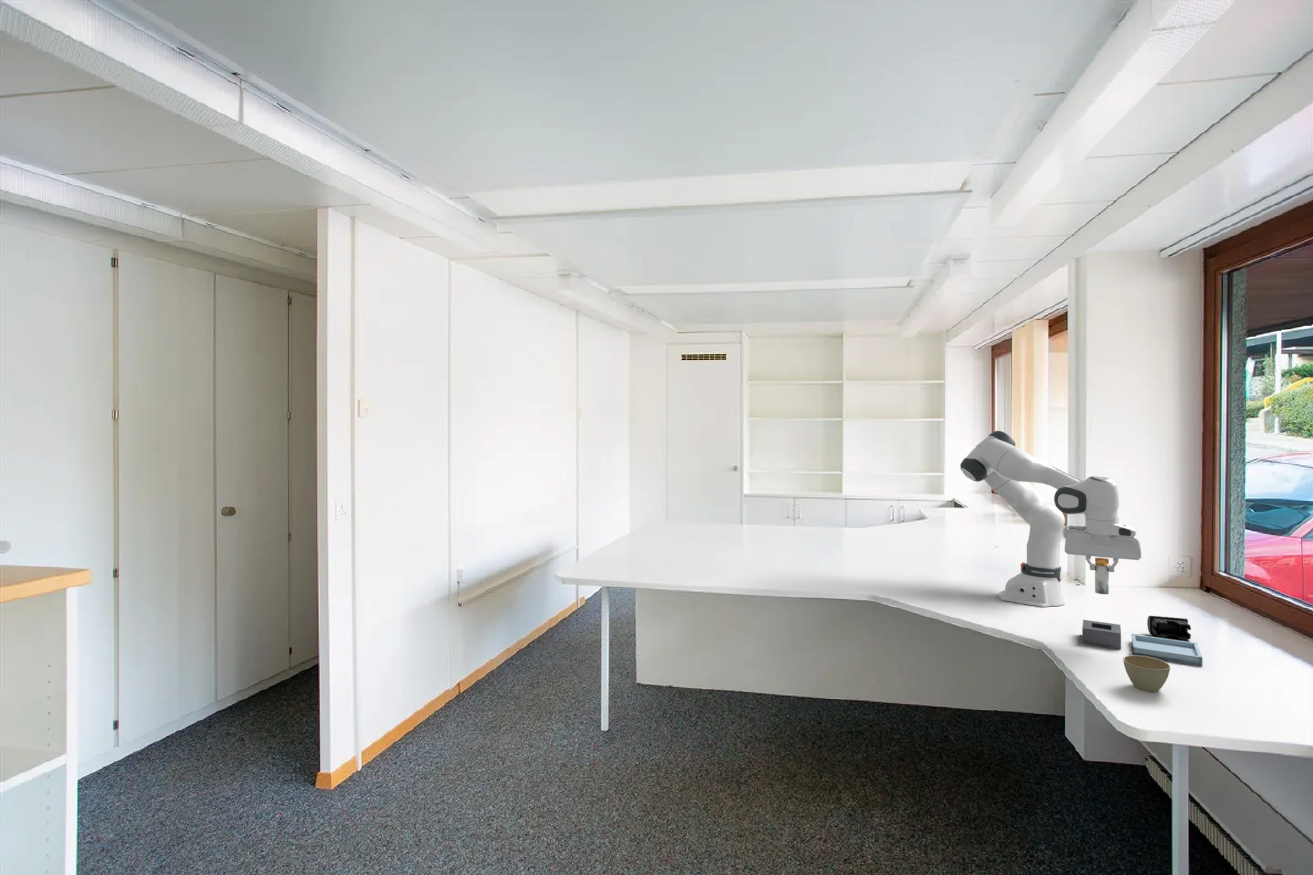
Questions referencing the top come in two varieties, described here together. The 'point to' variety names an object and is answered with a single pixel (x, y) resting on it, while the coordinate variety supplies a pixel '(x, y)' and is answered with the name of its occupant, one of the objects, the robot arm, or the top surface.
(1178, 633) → the end cap
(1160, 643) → the tray
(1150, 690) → the olive bowl
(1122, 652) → the top surface
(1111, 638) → the socket block
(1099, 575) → the gold and grey cylinder
